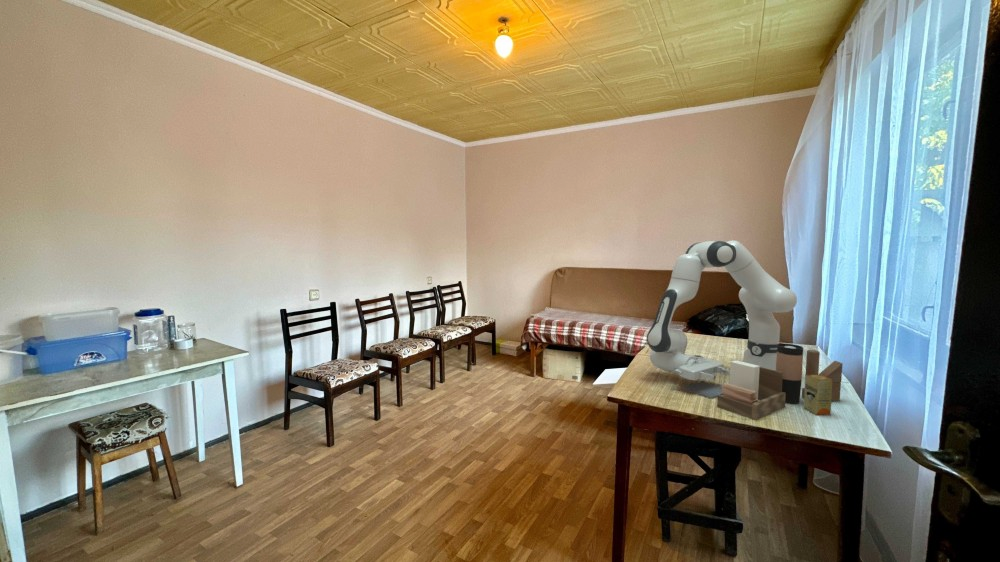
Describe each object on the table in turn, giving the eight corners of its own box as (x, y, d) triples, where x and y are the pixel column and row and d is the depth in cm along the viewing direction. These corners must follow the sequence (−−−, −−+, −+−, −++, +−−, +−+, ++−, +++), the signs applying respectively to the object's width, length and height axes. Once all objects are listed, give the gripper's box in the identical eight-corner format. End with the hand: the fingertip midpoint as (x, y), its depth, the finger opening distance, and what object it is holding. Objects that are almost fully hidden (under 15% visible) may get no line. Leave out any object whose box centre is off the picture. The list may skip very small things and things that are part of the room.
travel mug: (769, 396, 145) (772, 343, 143) (790, 396, 145) (793, 343, 143) (783, 404, 137) (786, 348, 135) (805, 404, 137) (809, 348, 135)
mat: (702, 382, 160) (702, 380, 160) (732, 391, 150) (732, 390, 149) (681, 388, 153) (681, 387, 153) (711, 398, 142) (711, 397, 142)
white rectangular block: (734, 397, 144) (736, 360, 143) (757, 404, 137) (759, 365, 136) (728, 399, 142) (730, 361, 141) (752, 406, 135) (754, 367, 134)
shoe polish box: (815, 415, 128) (818, 379, 127) (803, 409, 133) (805, 374, 132) (830, 415, 128) (832, 379, 127) (817, 408, 133) (819, 374, 132)
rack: (747, 395, 146) (748, 364, 145) (784, 406, 135) (786, 373, 134) (717, 406, 136) (718, 373, 134) (755, 420, 125) (757, 383, 124)
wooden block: (840, 402, 139) (843, 352, 138) (808, 401, 140) (811, 352, 139) (832, 398, 143) (835, 350, 141) (801, 397, 144) (804, 349, 142)
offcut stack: (727, 404, 138) (728, 383, 137) (757, 414, 129) (758, 392, 129) (720, 406, 136) (721, 385, 135) (751, 417, 127) (752, 394, 127)
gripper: (671, 362, 152) (705, 371, 140) (702, 354, 163) (736, 362, 151) (670, 378, 153) (704, 388, 141) (701, 369, 163) (735, 378, 151)
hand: (721, 375), depth 146 cm, fingers open, 8 cm apart
